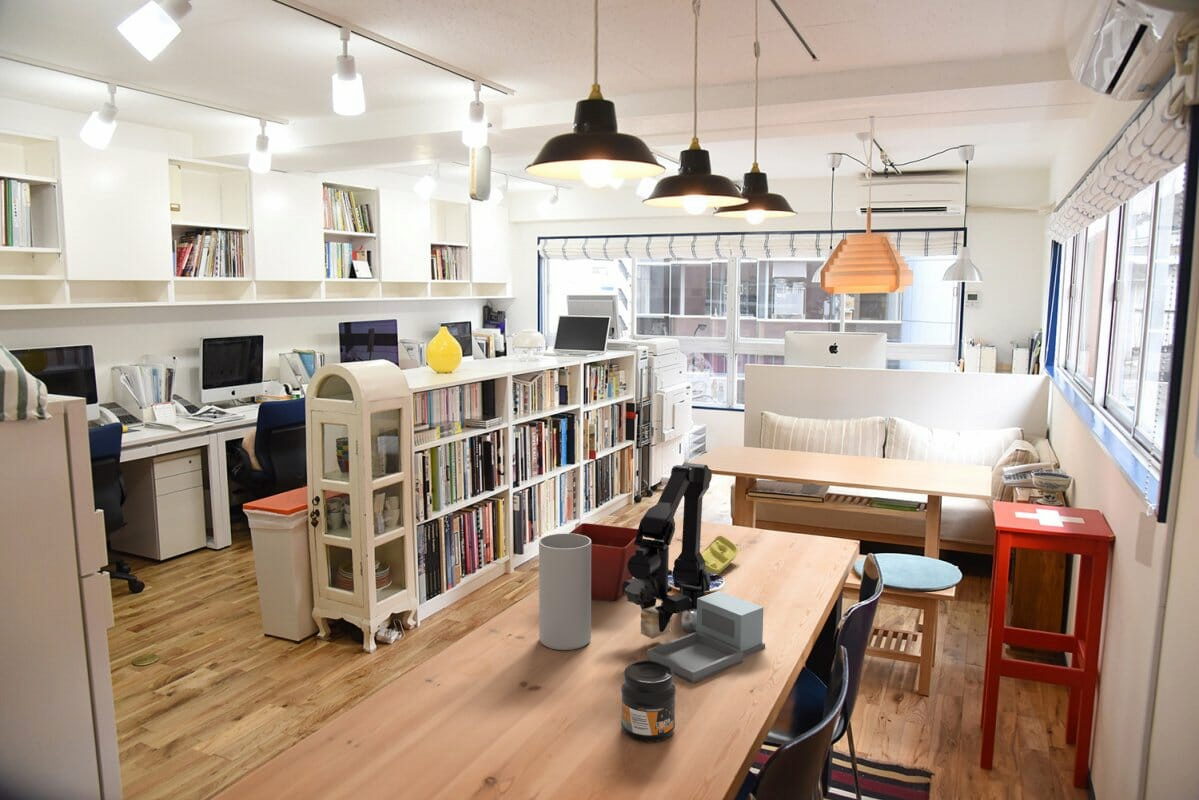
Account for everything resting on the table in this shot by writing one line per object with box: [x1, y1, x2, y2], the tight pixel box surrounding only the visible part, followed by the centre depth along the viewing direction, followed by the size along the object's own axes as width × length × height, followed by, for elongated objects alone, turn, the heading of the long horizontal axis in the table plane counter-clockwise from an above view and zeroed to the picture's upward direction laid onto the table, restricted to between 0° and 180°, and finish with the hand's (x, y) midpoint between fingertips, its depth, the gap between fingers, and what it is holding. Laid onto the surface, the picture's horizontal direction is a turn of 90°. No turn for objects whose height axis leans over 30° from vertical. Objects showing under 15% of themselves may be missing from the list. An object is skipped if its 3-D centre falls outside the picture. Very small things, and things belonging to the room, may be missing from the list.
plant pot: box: [569, 522, 640, 603], centre depth 235 cm, size 19×19×17 cm
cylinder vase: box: [538, 532, 592, 651], centre depth 202 cm, size 12×12×25 cm
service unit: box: [696, 590, 766, 658], centre depth 202 cm, size 15×9×10 cm, turn 40°
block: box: [640, 603, 671, 640], centre depth 201 cm, size 4×6×6 cm
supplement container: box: [620, 660, 677, 743], centre depth 162 cm, size 10×10×12 cm
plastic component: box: [700, 534, 739, 575], centre depth 258 cm, size 20×7×10 cm
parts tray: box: [646, 632, 744, 684], centre depth 192 cm, size 15×17×2 cm
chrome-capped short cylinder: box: [680, 608, 697, 635], centre depth 210 cm, size 4×4×5 cm
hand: (655, 628), depth 202 cm, fingers closed on block, 4 cm apart
